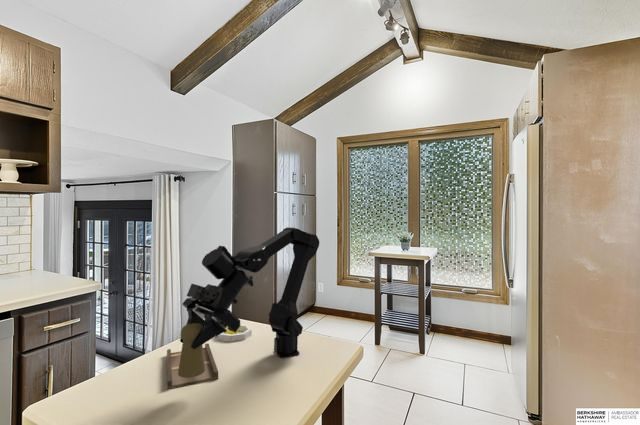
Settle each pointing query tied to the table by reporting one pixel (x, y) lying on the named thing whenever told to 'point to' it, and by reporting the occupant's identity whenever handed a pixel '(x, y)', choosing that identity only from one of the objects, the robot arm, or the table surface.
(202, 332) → the robot arm
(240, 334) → the white dish rim
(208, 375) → the channel board
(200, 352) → the olive pawn shaped piece
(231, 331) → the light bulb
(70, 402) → the table surface
